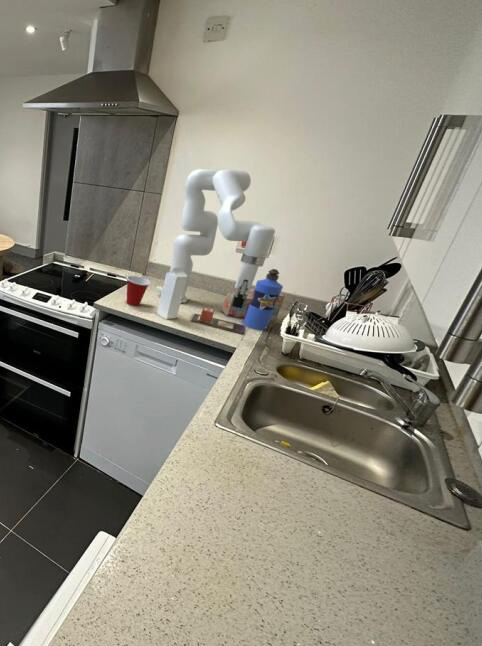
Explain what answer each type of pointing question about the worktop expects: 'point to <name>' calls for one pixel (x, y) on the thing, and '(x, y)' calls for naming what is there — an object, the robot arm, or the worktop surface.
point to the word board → (220, 324)
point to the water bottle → (263, 301)
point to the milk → (172, 293)
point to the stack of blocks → (242, 312)
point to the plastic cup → (136, 289)
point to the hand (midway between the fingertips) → (237, 304)
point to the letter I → (234, 298)
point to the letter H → (207, 314)
